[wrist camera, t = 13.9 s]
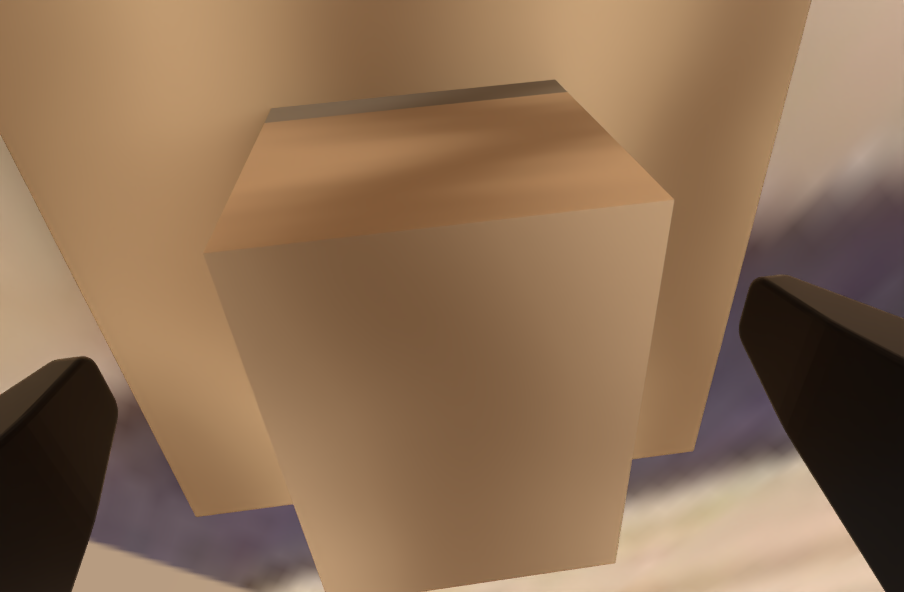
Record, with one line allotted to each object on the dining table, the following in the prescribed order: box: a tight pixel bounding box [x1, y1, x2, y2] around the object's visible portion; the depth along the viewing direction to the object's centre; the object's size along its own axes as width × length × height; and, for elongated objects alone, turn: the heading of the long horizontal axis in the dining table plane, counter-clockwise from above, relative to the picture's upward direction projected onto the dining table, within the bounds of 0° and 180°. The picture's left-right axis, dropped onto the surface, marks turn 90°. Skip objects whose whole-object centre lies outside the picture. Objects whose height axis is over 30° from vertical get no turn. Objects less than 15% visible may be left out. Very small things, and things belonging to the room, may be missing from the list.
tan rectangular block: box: [203, 80, 674, 592], centre depth 10 cm, size 5×7×5 cm
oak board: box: [0, 0, 811, 517], centre depth 11 cm, size 14×20×2 cm
